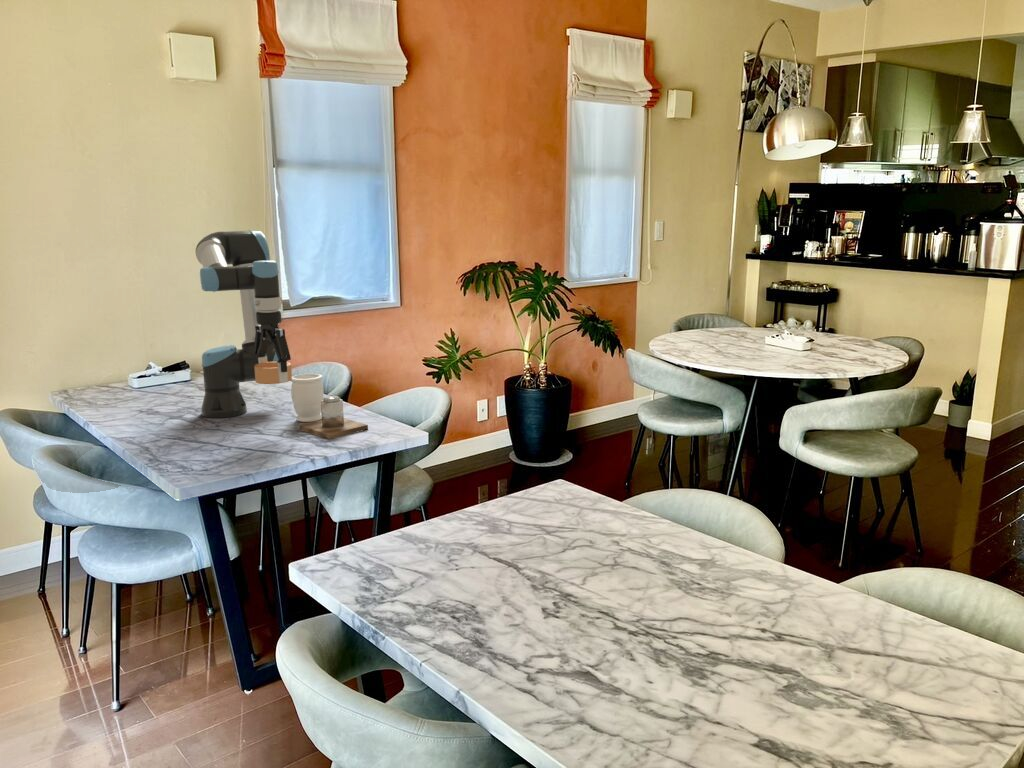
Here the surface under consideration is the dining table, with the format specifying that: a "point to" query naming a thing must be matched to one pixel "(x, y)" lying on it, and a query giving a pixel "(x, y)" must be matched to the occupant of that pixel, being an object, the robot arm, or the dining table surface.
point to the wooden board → (330, 433)
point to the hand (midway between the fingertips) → (273, 379)
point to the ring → (270, 373)
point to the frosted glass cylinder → (332, 412)
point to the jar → (307, 396)
